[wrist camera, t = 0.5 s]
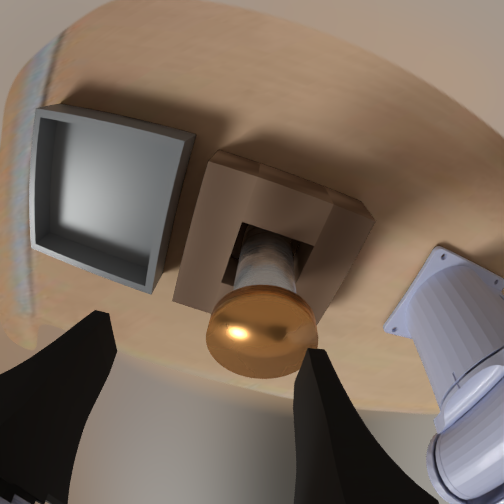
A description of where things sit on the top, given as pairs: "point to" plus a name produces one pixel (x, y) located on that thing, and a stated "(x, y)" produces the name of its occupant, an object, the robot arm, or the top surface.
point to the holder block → (272, 219)
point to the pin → (262, 312)
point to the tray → (105, 191)
